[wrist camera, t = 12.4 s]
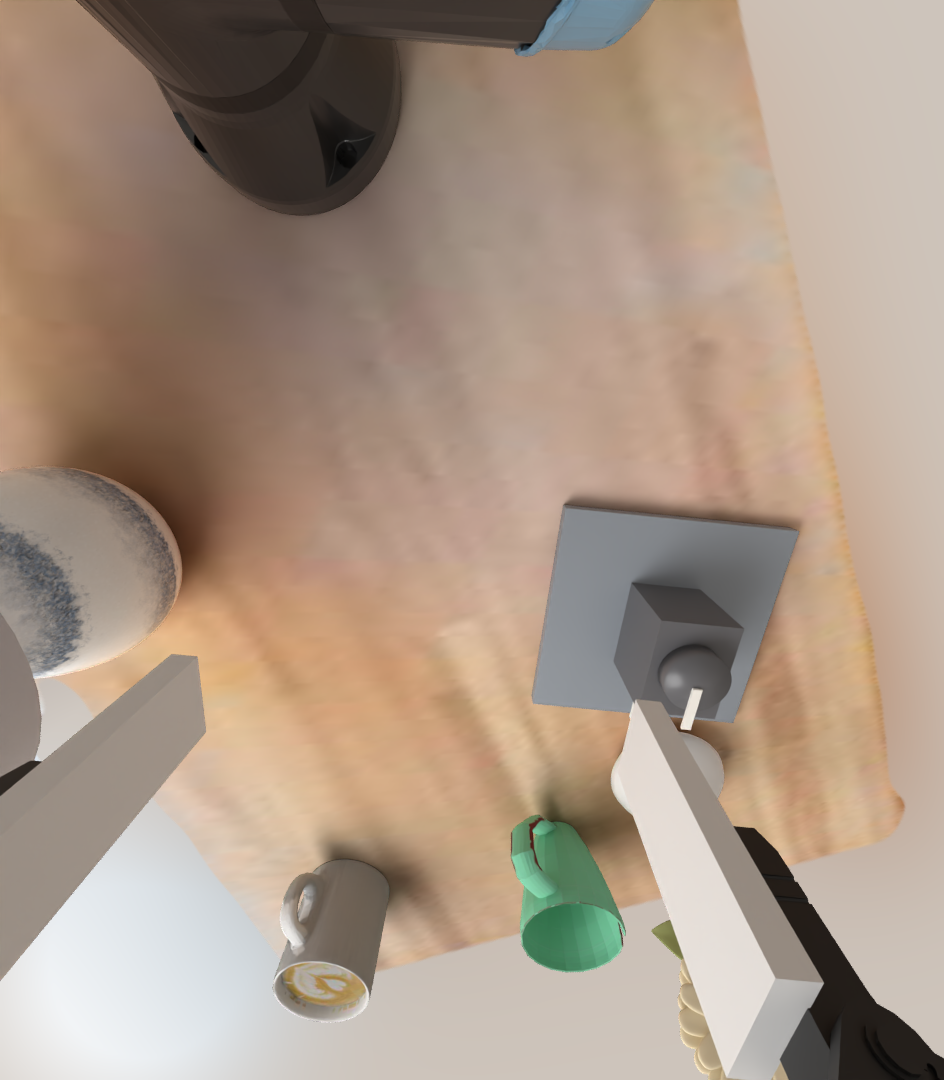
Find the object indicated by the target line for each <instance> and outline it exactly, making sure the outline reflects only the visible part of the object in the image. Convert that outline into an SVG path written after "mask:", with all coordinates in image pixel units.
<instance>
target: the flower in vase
mask: <svg viewBox="0 0 944 1080" xmlns="http://www.w3.org/2000/svg"><path fill="white" fill-rule="evenodd" d="M679 734H680V735H681V737H682V739H683V741H684V742H685V744H686V746H687V747H688V749H689V751H690V753H691V754H692V756H693V758H694V760H695V761H696V763H697V765H698V766H699V768H700V770H701V772H702V773H703V775H704V777H705V778H706V780H707V782H708V784H709V785H710V787H711V789H712V791H713V792H714V794H715V796H716V797H717V799H718V797H719V795H720V793H721V790H722V788H723V784H724V770H723V764H722V760H721V758H720V756H719V754H718V752H717V751H716V750H715V749H714V748H713V747H712V746H711V745H710V744H709V743H708V742H706V741H705V740H703V739H701V738H699V737H696V736H694V735H691V734H688V733H684V732H679ZM621 755H622V753H621V754H620V755H619V757H618V758H617V760H616V762H615V764H614V767H613V770H612V773H611V787H612V791H613V793H614V795H615V797H616V799H617V800H618V801H619V802H620V804H621V805H622V806H623V807H624V808H625V809H626V810H627V811H628V812H629V813H630V814H632V811H631V808H630V806H629V803H628V800H627V797H626V794H625V792H624V789H623V786H622V783H621V780H620V777H619V775H618V772H617V770H618V766H619V763H620V759H621ZM632 815H633V814H632ZM652 932H653V934H654V935H655V936H656V937H657V938H658V939H659V940H660V941H661V942H662V943H663V944H664V945H665V946H666V947H667V948H668V949H669V950H670V951H671V952H673V953H674V954H675V955H676V956H677V957H678V958H679V959H681V960H682V961H681V971H680V974H679V979H680V982H681V984H682V986H681V988H680V994H679V996H678V1005H679V1007H680V1009H681V1011H680V1013H679V1023H680V1026H681V1029H680V1035H681V1039H682V1041H683V1043H684V1044H685V1045H686V1046H687V1047H689V1048H692V1049H696V1051H695V1055H694V1061H695V1064H696V1066H697V1068H698V1069H699V1071H700V1072H701V1073H703V1074H709V1076H708V1080H743V1079H732V1078H726V1075H725V1072H724V1069H723V1067H722V1064H721V1061H720V1058H719V1055H718V1053H717V1050H716V1047H715V1044H714V1041H713V1039H712V1036H711V1033H710V1030H709V1027H708V1025H707V1022H706V1019H705V1016H704V1013H703V1010H702V1008H701V1005H700V1002H699V999H698V996H697V994H696V991H695V988H694V985H693V982H692V980H691V977H690V974H689V971H688V968H687V966H686V963H685V960H684V957H683V954H682V952H681V949H680V946H679V943H678V940H677V937H676V935H675V932H674V929H673V926H672V923H671V921H670V920H669V921H666V922H664V923H662V924H660V925H658V926H657V927H655V928H654V929H652ZM771 1080H789V1079H788V1077H787V1075H786V1073H785V1070H784V1068H783V1066H782V1064H781V1062H780V1064H779V1066H778V1068H777V1070H776V1072H775V1073H774V1075H773V1077H772V1079H771Z"/></svg>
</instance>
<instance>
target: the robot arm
mask: <svg viewBox="0 0 944 1080" xmlns="http://www.w3.org/2000/svg"><path fill="white" fill-rule="evenodd" d="M76 1H77V2H78V3H79V4H80V5H81V6H83V7H84V8H85V9H86V10H87V11H88V12H89V13H90V14H91V15H92V16H93V17H94V18H95V19H96V20H97V21H98V22H99V23H100V24H101V25H103V26H104V27H105V28H106V29H107V30H108V31H109V32H110V33H111V34H112V35H113V36H114V37H115V38H116V39H117V40H118V41H119V42H120V43H122V44H123V45H124V46H125V47H126V48H127V49H128V50H129V51H130V52H131V53H132V54H133V55H134V56H135V57H136V58H137V59H138V60H139V61H140V62H141V63H142V64H143V65H144V66H146V67H147V68H148V69H149V70H150V71H151V72H152V74H153V76H154V78H155V80H156V82H157V84H158V86H159V87H160V89H161V91H162V93H163V95H164V97H165V99H166V101H167V103H168V104H169V106H170V108H171V110H172V111H173V114H174V116H175V118H176V120H177V121H178V123H179V125H180V127H181V128H182V130H183V132H184V134H185V135H186V137H187V138H188V140H189V141H190V143H191V144H192V145H193V147H194V148H195V150H196V151H197V152H198V153H199V154H200V156H201V157H202V158H203V159H204V161H205V162H206V163H207V164H208V165H209V166H210V167H211V168H212V169H213V170H214V171H215V172H216V173H217V174H218V175H219V176H221V177H222V178H223V179H224V180H225V181H227V182H228V183H229V184H230V185H231V186H232V187H234V188H235V189H236V190H237V191H239V192H240V193H241V194H243V195H244V196H245V197H247V198H248V199H250V200H252V201H253V202H255V203H257V204H259V205H261V206H263V207H265V208H268V209H270V210H273V211H276V212H280V213H285V214H291V215H313V214H319V213H324V212H327V211H330V210H333V209H335V208H337V207H339V206H341V205H343V204H345V203H347V202H348V201H350V200H351V199H353V198H354V197H355V196H357V195H358V194H359V193H360V192H361V191H362V190H363V189H364V188H365V187H366V186H367V185H368V184H369V183H370V182H371V180H372V179H373V178H374V177H375V175H376V174H377V172H378V171H379V169H380V168H381V166H382V164H383V162H384V161H385V158H386V156H387V154H388V152H389V150H390V147H391V145H392V142H393V139H394V136H395V132H396V128H397V123H398V118H399V112H400V102H401V74H400V65H399V58H398V52H397V48H396V43H395V40H405V41H418V42H431V43H444V44H458V45H471V46H484V47H497V48H510V49H514V51H515V54H516V55H518V56H524V57H527V56H533V55H535V54H536V53H538V52H540V51H541V50H598V49H602V48H605V47H608V46H610V45H612V44H614V43H616V42H617V41H618V40H619V39H620V38H621V37H622V36H623V35H625V34H626V33H627V32H628V31H629V30H630V29H631V28H632V27H633V26H634V25H635V24H636V23H637V22H638V21H639V20H640V19H641V18H642V16H643V15H644V14H645V13H646V12H647V10H648V9H649V7H650V6H651V4H652V3H653V1H654V0H76ZM205 732H206V726H205V717H204V709H203V700H202V691H201V683H200V674H199V665H198V657H196V656H186V655H175V654H171V655H170V656H169V657H168V658H167V659H165V660H164V661H163V662H162V663H161V664H159V665H158V666H157V667H156V668H154V669H153V670H152V671H151V672H150V673H148V674H147V675H146V676H145V677H144V678H142V679H141V680H140V681H139V682H138V683H136V684H135V685H134V686H133V687H132V688H130V689H129V690H128V691H127V692H126V693H124V694H123V695H122V696H121V697H119V698H118V699H117V700H116V701H115V702H113V703H112V704H111V705H110V706H109V707H107V708H106V709H105V710H104V711H103V712H101V713H100V714H99V715H98V716H97V717H95V718H94V719H93V720H92V721H91V722H89V723H88V724H87V725H86V726H84V727H83V728H82V729H81V730H80V731H79V732H77V733H76V734H75V735H74V736H72V737H71V738H70V739H69V740H68V741H66V742H65V743H64V744H63V745H62V746H61V747H59V748H58V749H57V750H56V751H54V752H53V753H52V754H51V755H50V756H48V757H47V758H46V759H45V760H43V761H42V762H41V761H31V760H30V761H29V762H27V763H25V764H23V765H21V766H19V767H17V768H16V769H14V770H12V771H10V772H8V773H6V774H5V775H3V776H1V777H0V981H1V979H2V978H3V977H4V976H5V975H6V973H7V972H8V971H9V970H10V969H11V967H12V966H13V965H14V964H15V962H16V961H17V960H18V959H19V958H20V956H21V955H22V954H23V953H24V952H25V950H26V949H27V948H28V947H29V946H30V944H31V943H32V942H33V941H34V939H35V938H36V937H37V936H38V935H39V933H40V932H41V931H42V930H43V929H44V927H45V926H46V925H47V924H48V922H49V921H50V920H51V919H52V918H53V916H54V915H55V914H56V913H57V912H58V910H59V909H60V908H61V907H62V906H63V904H64V903H65V902H66V901H67V899H68V898H69V897H70V896H71V895H72V893H73V892H74V891H75V890H76V889H77V887H78V886H79V885H80V884H81V883H82V881H83V880H84V879H85V878H86V876H87V875H88V874H89V873H90V872H91V870H92V869H93V868H94V867H95V866H96V864H97V863H98V862H99V861H100V860H101V858H102V857H103V856H104V855H105V853H106V852H107V851H108V850H109V849H110V847H111V846H112V845H113V844H114V843H115V841H116V840H117V839H118V838H119V837H120V835H121V834H122V833H123V832H124V830H125V829H126V828H127V826H129V824H130V823H131V822H132V821H133V820H134V818H135V817H136V816H137V815H138V814H139V812H140V811H141V810H142V809H143V807H144V806H145V805H146V804H147V803H148V801H149V800H150V799H151V798H152V797H153V795H154V794H155V793H156V792H157V791H158V789H159V788H160V787H161V786H162V784H163V783H164V782H165V781H166V780H167V778H168V777H169V776H170V775H171V774H172V772H173V771H174V770H175V769H176V768H177V766H178V765H179V764H180V763H181V761H182V760H183V759H184V758H185V757H186V755H187V754H188V753H189V752H190V751H191V749H192V748H193V747H194V746H195V745H196V743H197V742H198V741H199V740H200V738H201V737H202V736H203V735H204V734H205ZM617 772H618V775H619V777H620V780H621V783H622V786H623V789H624V792H625V794H626V797H627V800H628V803H629V806H630V808H631V811H632V814H633V817H634V820H635V822H636V825H637V828H638V831H639V834H640V836H641V839H642V842H643V845H644V848H645V850H646V853H647V856H648V859H649V862H650V864H651V867H652V870H653V873H654V876H655V879H656V881H657V884H658V887H659V890H660V893H661V895H662V898H663V901H664V904H665V907H666V909H667V912H668V915H669V918H670V921H671V923H672V926H673V929H674V932H675V935H676V937H677V940H678V943H679V946H680V949H681V952H682V954H683V957H684V960H685V963H686V966H687V968H688V971H689V974H690V977H691V980H692V982H693V985H694V988H695V991H696V994H697V996H698V999H699V1002H700V1005H701V1008H702V1010H703V1013H704V1016H705V1019H706V1022H707V1025H708V1027H709V1030H710V1033H711V1036H712V1039H713V1041H714V1044H715V1047H716V1050H717V1053H718V1055H719V1058H720V1061H721V1064H722V1067H723V1069H724V1072H725V1075H726V1078H732V1079H743V1080H771V1079H772V1077H773V1075H774V1073H775V1072H776V1070H777V1068H778V1066H779V1064H780V1062H781V1064H782V1066H783V1068H784V1070H785V1073H786V1075H787V1077H788V1079H789V1080H944V1058H942V1057H940V1056H939V1055H937V1054H935V1053H934V1052H933V1051H932V1050H931V1049H930V1048H929V1046H928V1045H927V1044H926V1043H925V1042H924V1041H923V1040H922V1038H921V1037H920V1036H919V1035H918V1034H917V1033H916V1032H915V1031H914V1030H913V1029H912V1028H911V1027H910V1026H908V1025H907V1024H906V1023H905V1022H904V1021H903V1020H901V1019H900V1018H899V1017H898V1016H897V1015H895V1014H894V1013H893V1012H891V1011H889V1010H887V1009H885V1008H884V1007H882V1006H880V1005H878V1004H877V1003H876V1002H875V1000H874V999H873V998H872V996H871V995H870V994H869V992H868V991H867V989H866V988H865V986H864V985H863V983H862V982H861V980H860V979H859V977H858V976H857V974H856V973H855V971H854V969H853V968H852V966H851V965H850V963H849V962H848V960H847V959H846V957H845V955H844V954H843V952H842V951H841V949H840V948H839V946H838V944H837V943H836V941H835V940H834V938H833V937H832V936H831V934H830V932H829V931H828V929H827V927H826V926H825V924H824V923H823V922H822V920H821V918H820V917H819V915H818V914H817V912H816V910H815V909H814V907H813V906H812V904H809V902H808V898H807V896H806V895H805V893H804V892H803V890H802V889H801V887H800V886H799V884H798V882H795V881H794V876H793V875H792V873H791V872H790V870H789V868H788V867H787V865H786V864H785V862H784V861H783V859H782V858H781V856H780V855H779V853H778V851H777V850H776V849H775V848H774V847H773V846H772V845H771V844H770V843H769V842H768V841H767V840H766V839H765V838H764V837H763V836H762V835H761V834H760V833H759V832H758V831H757V830H756V829H754V828H746V827H735V826H733V825H732V823H731V822H730V820H729V818H728V816H727V815H726V813H725V811H724V809H723V808H722V806H721V804H720V803H719V801H718V799H717V797H716V796H715V794H714V792H713V791H712V789H711V787H710V785H709V784H708V782H707V780H706V778H705V777H704V775H703V773H702V772H701V770H700V768H699V766H698V765H697V763H696V761H695V760H694V758H693V756H692V754H691V753H690V751H689V749H688V747H687V746H686V744H685V742H684V741H683V739H682V737H681V735H680V734H679V732H678V730H677V728H676V727H675V725H674V723H673V722H672V720H671V718H670V716H669V715H668V713H667V711H666V710H665V708H664V706H663V704H662V703H661V702H658V701H648V700H638V699H636V700H635V704H634V708H633V712H632V716H631V719H630V723H629V727H628V731H627V735H626V739H625V743H624V747H623V751H622V755H621V759H620V763H619V766H618V770H617Z"/></svg>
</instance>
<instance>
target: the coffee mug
mask: <svg viewBox="0 0 944 1080" xmlns="http://www.w3.org/2000/svg"><path fill="white" fill-rule="evenodd" d="M302 891H304V897H303V899H302V902H301V905H300V908H299V911H298V913H297V909H298V903H299V899H300V896H301V894H302ZM389 894H390V889H389V885H388V882H387V880H386V878H385V877H384V876H383V875H382V874H381V873H380V872H379V871H378V870H377V869H375V868H374V867H372V866H370V865H369V864H366V863H363V862H360V861H356V860H349V859H340V860H333V861H330V862H327V863H325V864H323V865H321V866H320V867H318V868H317V869H316V870H315V871H314V872H313V873H305V874H302V875H299V876H298V877H296V878H295V879H294V880H293V882H292V883H291V884H290V886H289V888H288V890H287V892H286V895H285V897H284V900H283V903H282V907H281V912H280V925H281V928H282V931H283V933H284V935H285V936H286V937H287V938H288V941H287V944H286V947H285V950H284V952H283V955H282V958H281V961H280V963H279V967H278V969H277V972H276V975H275V978H274V981H273V992H274V995H275V997H276V999H277V1000H278V1002H279V1003H280V1004H281V1005H282V1006H283V1007H284V1008H285V1009H287V1010H288V1011H289V1012H291V1013H293V1014H295V1015H297V1016H299V1017H302V1018H304V1019H308V1020H312V1021H317V1022H340V1021H344V1020H348V1019H351V1018H353V1017H355V1016H357V1015H359V1014H360V1013H361V1012H362V1011H363V1010H364V1009H365V1008H366V1006H367V1005H368V1002H369V999H370V994H371V990H372V984H373V979H374V974H375V968H376V963H377V958H378V952H379V947H380V942H381V936H382V931H383V926H384V921H385V915H386V910H387V905H388V899H389Z"/></svg>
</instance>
